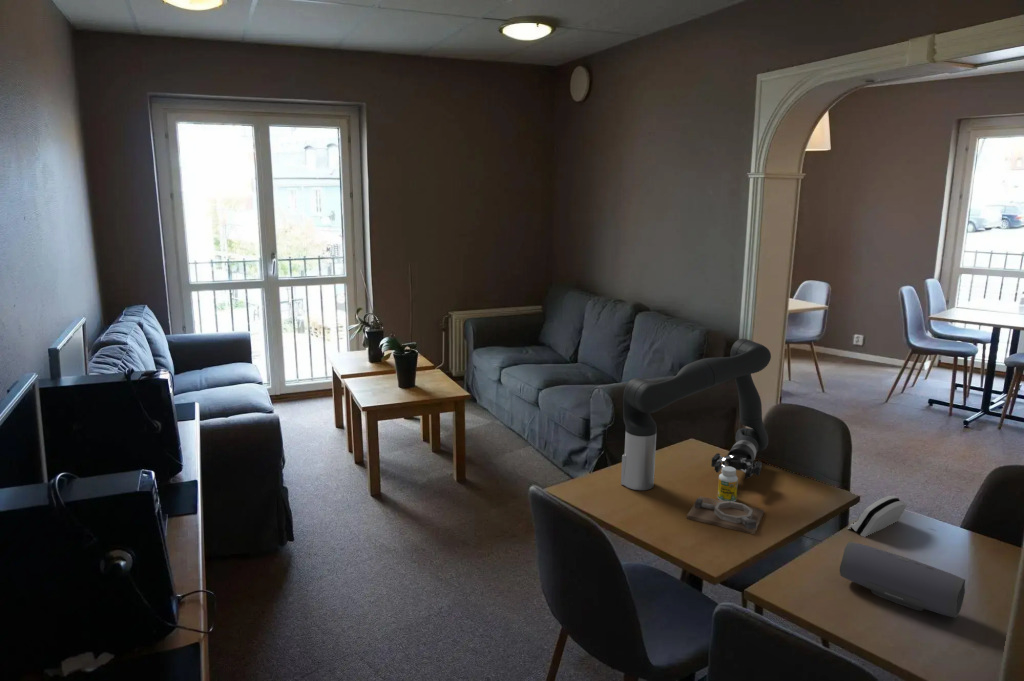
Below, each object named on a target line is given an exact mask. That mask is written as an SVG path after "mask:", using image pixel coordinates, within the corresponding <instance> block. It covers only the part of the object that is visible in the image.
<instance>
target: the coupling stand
mask: <svg viewBox="0 0 1024 681" xmlns="http://www.w3.org/2000/svg"><path fill="white" fill-rule="evenodd" d="M764 513H765V510H764V509H760V508H756V507H752V506H748V505H746V504H745V503H741V502H737V501H735V502H732V501H726V502H725V501H720V500H719V499H715V498H714V499H713V498H710V497H706V496H700V495H699V496H698V498H696V500H695V502H694V504H693V505H692V507H691V508H690V510H689V512H688V513H687V514H686V519H687V520H691V521H696V522H701V523H703V524H708V525H713V526H717V527H722V528H725V529H729V530H734V531H739V532H743V533H747V534H751V535H756V533H757V531H758V530H757V529H758V528H759V526H760V523H761V522H762V518H763V517H764Z"/></svg>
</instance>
